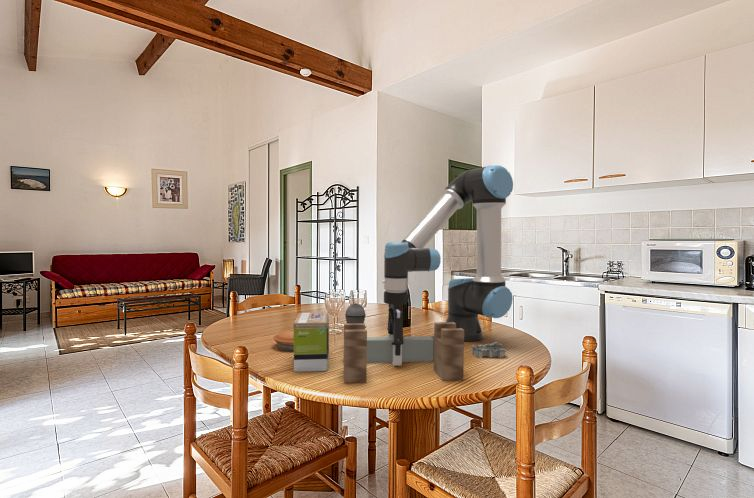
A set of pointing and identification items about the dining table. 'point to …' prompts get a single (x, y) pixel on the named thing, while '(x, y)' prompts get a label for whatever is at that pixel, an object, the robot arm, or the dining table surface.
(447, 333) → the posts
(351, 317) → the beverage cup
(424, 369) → the dining table surface
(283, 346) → the pie
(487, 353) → the egg carton
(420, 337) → the bed rail
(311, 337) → the tea box
